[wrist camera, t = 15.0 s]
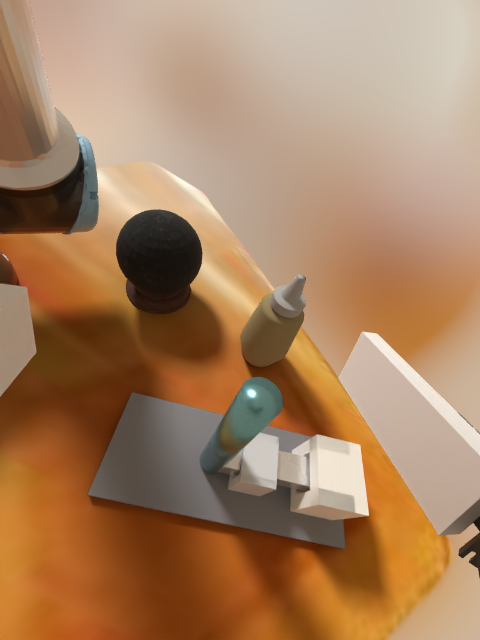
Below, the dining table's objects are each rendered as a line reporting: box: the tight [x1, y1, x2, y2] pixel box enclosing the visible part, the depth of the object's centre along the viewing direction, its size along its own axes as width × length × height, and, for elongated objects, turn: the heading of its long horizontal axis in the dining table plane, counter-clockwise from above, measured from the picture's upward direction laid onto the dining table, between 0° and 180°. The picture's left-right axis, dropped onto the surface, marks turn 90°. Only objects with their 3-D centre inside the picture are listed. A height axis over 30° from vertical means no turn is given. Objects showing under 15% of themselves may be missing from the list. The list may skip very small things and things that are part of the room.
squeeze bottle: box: [241, 274, 306, 367], centre depth 41 cm, size 8×8×18 cm
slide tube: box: [200, 377, 310, 492], centre depth 28 cm, size 16×3×20 cm, turn 82°
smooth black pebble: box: [116, 210, 202, 314], centre depth 45 cm, size 13×13×15 cm
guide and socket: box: [88, 392, 369, 549], centre depth 33 cm, size 30×12×8 cm, turn 82°
